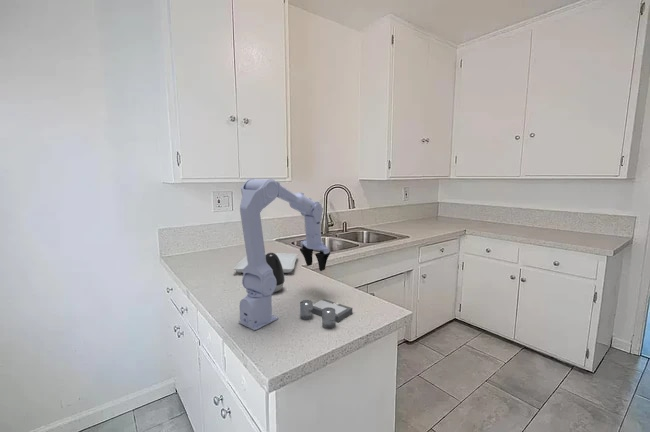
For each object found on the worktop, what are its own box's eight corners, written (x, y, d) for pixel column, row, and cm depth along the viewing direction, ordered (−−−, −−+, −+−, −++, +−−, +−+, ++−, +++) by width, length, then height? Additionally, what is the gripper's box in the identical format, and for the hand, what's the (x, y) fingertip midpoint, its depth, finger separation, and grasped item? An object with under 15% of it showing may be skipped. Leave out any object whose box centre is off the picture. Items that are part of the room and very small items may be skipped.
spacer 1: (307, 321, 97) (306, 306, 96) (297, 317, 100) (297, 302, 99) (315, 316, 100) (315, 302, 99) (306, 313, 103) (305, 298, 102)
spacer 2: (329, 330, 92) (330, 314, 91) (319, 326, 94) (319, 310, 93) (337, 325, 95) (338, 309, 94) (327, 321, 97) (327, 306, 96)
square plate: (293, 276, 140) (293, 268, 139) (232, 276, 140) (232, 268, 139) (298, 259, 167) (298, 252, 166) (247, 259, 166) (247, 252, 166)
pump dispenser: (256, 287, 125) (254, 250, 123) (281, 284, 129) (280, 248, 127) (260, 297, 116) (258, 257, 114) (287, 293, 120) (286, 254, 117)
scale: (338, 322, 96) (338, 315, 96) (309, 311, 104) (308, 305, 103) (352, 313, 103) (352, 306, 102) (323, 303, 110) (323, 297, 110)
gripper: (334, 234, 113) (336, 269, 116) (309, 227, 123) (311, 260, 126) (319, 238, 108) (322, 275, 111) (295, 231, 119) (297, 265, 122)
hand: (315, 267), depth 118 cm, fingers open, 7 cm apart
